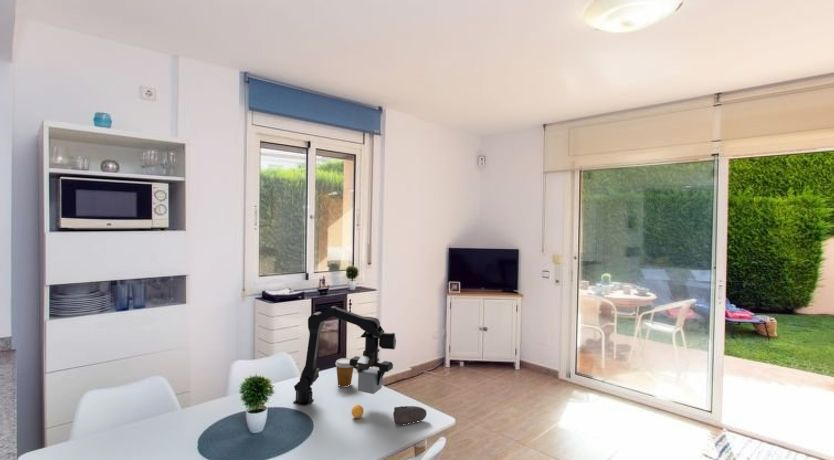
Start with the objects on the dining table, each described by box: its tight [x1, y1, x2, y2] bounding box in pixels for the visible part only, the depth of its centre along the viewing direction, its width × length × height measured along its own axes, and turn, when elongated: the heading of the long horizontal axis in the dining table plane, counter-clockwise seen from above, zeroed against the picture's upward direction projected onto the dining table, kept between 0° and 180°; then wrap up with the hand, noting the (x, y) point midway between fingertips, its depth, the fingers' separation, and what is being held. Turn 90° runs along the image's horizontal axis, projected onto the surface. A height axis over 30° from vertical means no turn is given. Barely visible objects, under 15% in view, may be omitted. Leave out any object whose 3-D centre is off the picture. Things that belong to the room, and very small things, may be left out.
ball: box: [351, 404, 364, 419], centre depth 175 cm, size 5×5×5 cm
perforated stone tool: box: [392, 405, 427, 426], centre depth 172 cm, size 15×5×7 cm, turn 111°
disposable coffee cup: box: [335, 357, 354, 387], centre depth 211 cm, size 10×10×12 cm
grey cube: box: [357, 367, 383, 395], centre depth 185 cm, size 8×8×8 cm
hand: (370, 383), depth 185 cm, fingers closed on grey cube, 8 cm apart
